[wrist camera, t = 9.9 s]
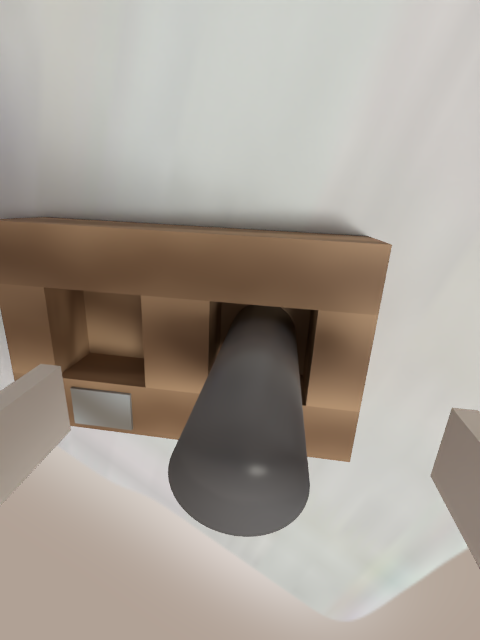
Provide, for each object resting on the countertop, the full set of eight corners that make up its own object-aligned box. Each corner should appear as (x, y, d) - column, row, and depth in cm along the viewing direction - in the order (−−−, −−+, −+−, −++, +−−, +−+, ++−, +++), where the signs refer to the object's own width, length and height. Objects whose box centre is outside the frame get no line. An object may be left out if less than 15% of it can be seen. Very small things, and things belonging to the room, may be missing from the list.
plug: (231, 300, 20) (165, 414, 9) (298, 304, 20) (317, 430, 9) (230, 360, 22) (170, 526, 10) (292, 365, 21) (302, 545, 10)
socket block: (43, 217, 21) (-21, 219, 17) (368, 236, 19) (393, 245, 15) (67, 387, 25) (20, 425, 21) (337, 418, 23) (349, 468, 19)
